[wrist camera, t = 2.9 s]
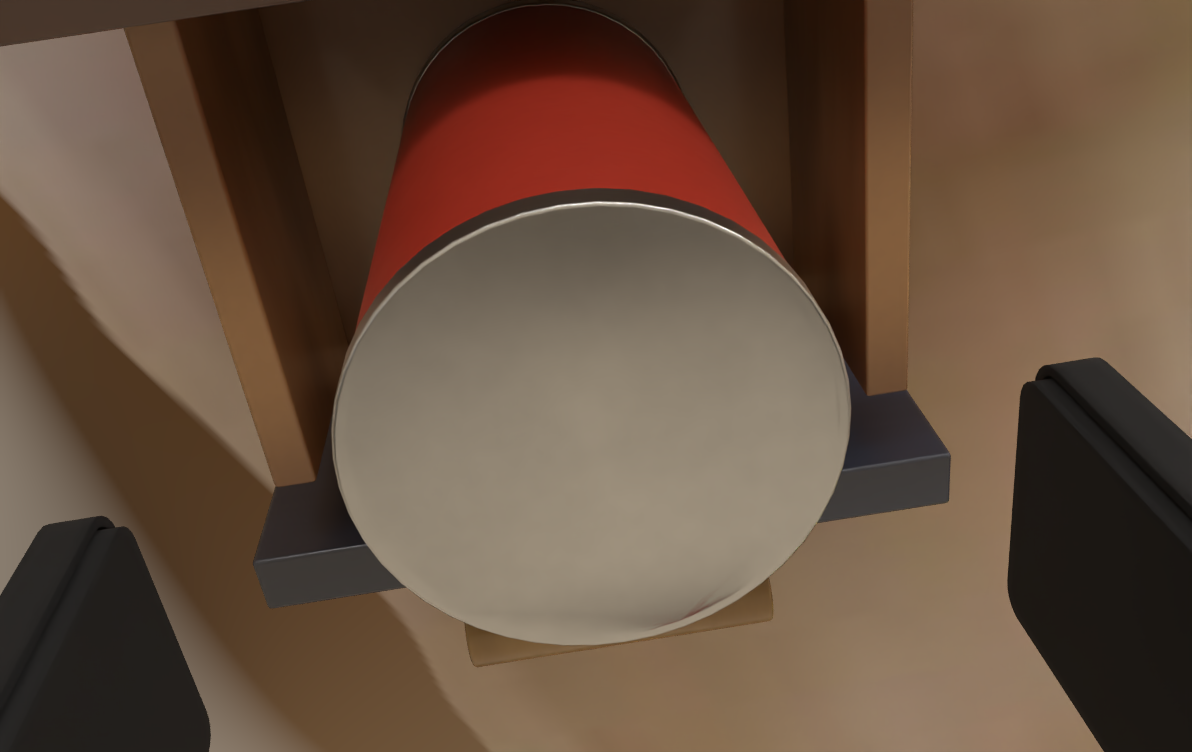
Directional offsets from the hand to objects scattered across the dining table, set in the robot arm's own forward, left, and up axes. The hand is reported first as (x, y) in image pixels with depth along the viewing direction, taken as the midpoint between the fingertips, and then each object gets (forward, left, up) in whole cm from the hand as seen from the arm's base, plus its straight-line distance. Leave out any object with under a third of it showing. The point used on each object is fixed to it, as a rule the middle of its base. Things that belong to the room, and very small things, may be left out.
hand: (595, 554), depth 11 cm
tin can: (0, 0, -14) cm, 14 cm away
